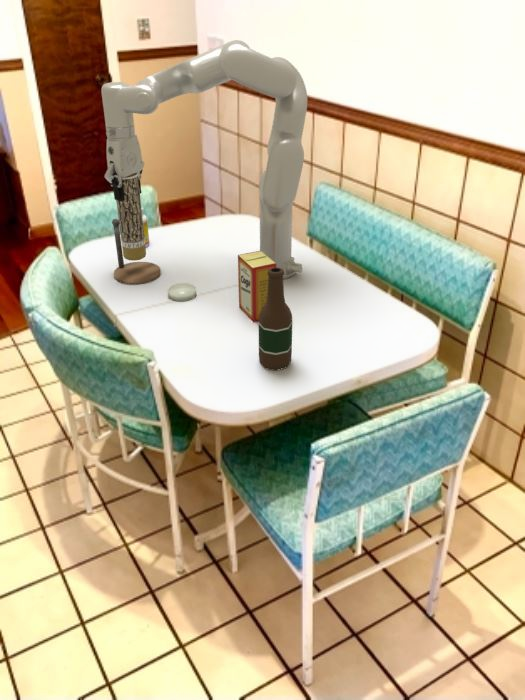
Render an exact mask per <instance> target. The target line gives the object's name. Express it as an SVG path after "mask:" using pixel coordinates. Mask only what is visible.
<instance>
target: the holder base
mask: <svg viewBox="0 0 525 700" xmlns="http://www.w3.org/2000/svg"><path fill="white" fill-rule="evenodd" d="M111 224H112V226H113V232H114V239H115V241H114V242H115V248H116V255H117V263H118V267H116V268H115V269H114V270H113V277H114V278H113V279H114V280H115V281H116V282H118V283H120V284H123V285H129V286H131V285H133V286H136V285H143V284H148V283H151V282H154V281H156V280H157V279H159V278H160V277H161V273H162V272H161V267H160V266H159V265H158V264H155V263H153V262H148V261H133V262H128V263H125V262H124V256H123V249H122V242H121V234H120V226H119V218H113V219H112V221H111Z"/></svg>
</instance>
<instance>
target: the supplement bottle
mask: <svg viewBox="0 0 525 700" xmlns="http://www.w3.org/2000/svg"><path fill="white" fill-rule="evenodd" d="M141 209H142V218H143V228H144V238H145V248H147V247H148V246H150V236H149V235H150V234H149V226H148V218H147V216H146V215H145V214H144V208H143V206H141Z"/></svg>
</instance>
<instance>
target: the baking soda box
mask: <svg viewBox="0 0 525 700" xmlns="http://www.w3.org/2000/svg"><path fill="white" fill-rule="evenodd" d="M275 267H276V263H275V262H274V261H272V260H271V259H270V258H269V257H267V256H266V255H265V254H264V253H263V252H261V251H260V250H258V251H252V252H251V251H250V252H247V253H246V252H245V253H241V254H238V255H237V271H238V273H237V274H238V275H237V276H238V279H237V280H238V305H239V306H238V308H239V309H240V310H241V311H242V312H243V313H244V314H245V315H246V317H248V318H249V320H251V321H252V323H259V314H260V312H261V309H262V308H263V306H264V305H265V303H266V300H267V292H268V277H269V276H268V275H267V273H268V270H269V269H270V268H275Z"/></svg>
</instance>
